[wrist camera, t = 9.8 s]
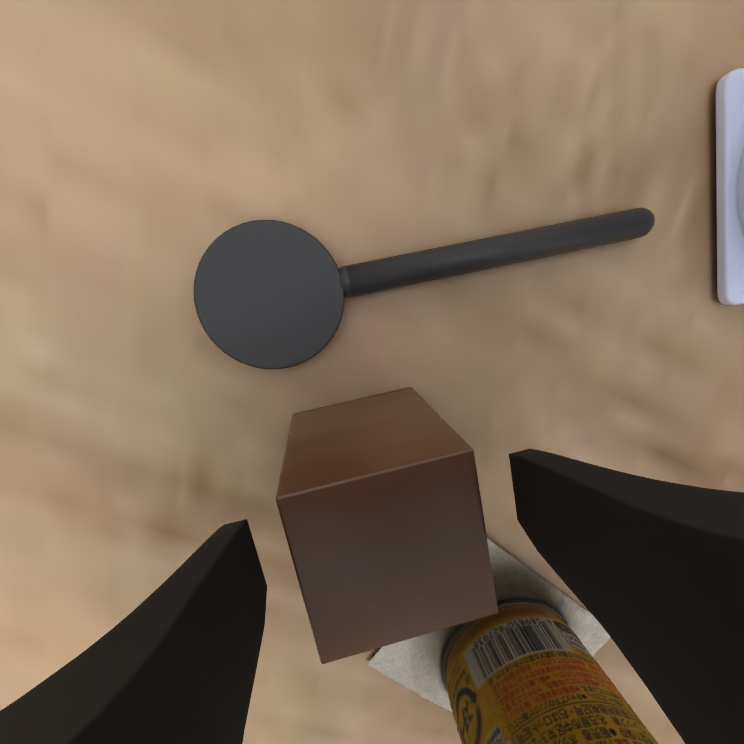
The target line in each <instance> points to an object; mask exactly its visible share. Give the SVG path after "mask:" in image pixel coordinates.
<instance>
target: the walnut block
mask: <svg viewBox="0 0 744 744" xmlns="http://www.w3.org/2000/svg"><path fill="white" fill-rule="evenodd" d="M276 502H277V506H278V509H279V513H280V517H281V520H282V524H283V527H284V531H285V535H286V538H287V542H288V545H289V549H290V553H291V556H292V560H293V563H294V567H295V571H296V574H297V578H298V581H299V585H300V589H301V592H302V596H303V599H304V603H305V607H306V610H307V614H308V617H309V621H310V625H311V628H312V632H313V635H314V639H315V643H316V646H317V650H318V653H319V657H320V661H321V663H322V664H325V663H329V662H332V661H335V660H339V659H342V658H346V657H349V656H353V655H356V654H360V653H363V652H367V651H370V650H373V649H377V648H380V647H384V646H387V645H391V644H394V643H398V642H401V641H404V640H408V639H411V638H415V637H418V636H422V635H425V634H429V633H432V632H436V631H439V630H442V629H446V628H449V627H453V626H456V625H460V624H463V623H467V622H470V621H474V620H477V619H480V618H484V617H487V616H491V615H494V614H497V613H498V607H497V601H496V594H495V588H494V581H493V575H492V568H491V562H490V555H489V549H488V542H487V536H486V529H485V523H484V516H483V510H482V503H481V497H480V490H479V484H478V477H477V471H476V464H475V458H474V451H473V449H472V448H471V447H470V446H469V445H468V444H467V443H466V442H465V441H464V440H463V439H462V438H461V437H460V436H459V435H458V434H457V433H456V432H455V431H454V430H453V429H452V428H451V427H450V426H449V425H448V424H447V423H446V422H445V421H444V420H443V419H442V418H441V417H440V416H439V415H438V414H437V413H436V412H435V411H434V410H433V409H432V408H431V407H430V406H429V405H428V404H427V403H426V402H425V401H424V400H423V399H422V398H421V397H420V396H419V395H418V394H417V393H416V392H415V391H414V390H413V389H412V388H411V387H410V388H405V389H401V390H397V391H392V392H388V393H383V394H379V395H375V396H370V397H366V398H362V399H357V400H353V401H349V402H344V403H340V404H336V405H331V406H327V407H323V408H318V409H314V410H310V411H305V412H301V413H297V414H293V416H292V421H291V426H290V431H289V436H288V441H287V446H286V451H285V455H284V460H283V465H282V470H281V475H280V480H279V485H278V490H277V495H276Z"/></svg>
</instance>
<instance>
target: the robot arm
mask: <svg viewBox="0 0 744 744" xmlns="http://www.w3.org/2000/svg"><path fill="white" fill-rule="evenodd" d="M716 189H717V295H718V300H719V301H720V302H721V303H722V304H724V305H741V304H744V68H739V69H736V70H733V71H731V72H729V73H728V74H726V75H724V76H723V77H722V78H721V79H720V80H719V82H718V84H717V87H716ZM509 458H510V466H511V474H512V481H513V489H514V496H515V504H516V512H517V519H518V521H519V523H520V524H521V526H522V528H523V529H524V531H525V532H526V534H527V535H528V537H529V539H530V540H531V541H532V543H533V544H534V546H535V547H536V549H537V550H538V552H539V553H540V554H541V555H542V557H543V558H544V559H545V560H546V561H547V562H548V564H549V565H550V566H551V567H552V568H553V570H554V571H555V572H556V573H557V574H558V575H559V577H560V578H561V579H562V580H563V581H564V582H565V584H566V585H567V586H568V587H569V588H570V589H571V591H572V592H573V593H574V594H575V595H576V596H577V598H578V599H579V600H580V601H581V602H582V603H583V604H584V606H585V607H586V608H587V609H588V610H589V611H590V613H591V614H592V615H593V616H594V617H595V618H596V620H597V621H598V622H599V623H600V624H601V626H602V627H603V628H604V629H605V631H606V632H607V633H608V634H609V636H610V637H611V638H612V639H613V641H614V642H615V643H616V645H617V646H618V647H619V649H620V650H621V652H622V653H623V654H624V656H625V657H626V659H627V660H628V661H629V663H630V664H631V666H632V667H633V668H634V670H635V671H636V672H637V674H638V675H639V677H640V678H641V679H642V681H643V682H644V684H645V685H646V687H647V688H648V689H649V691H650V692H651V694H652V695H653V697H654V698H655V700H656V701H657V703H658V704H659V705H660V707H661V708H662V710H663V711H664V713H665V714H666V716H667V717H668V719H669V720H670V722H671V723H672V724H673V726H674V727H675V729H676V730H677V732H678V733H679V735H680V736H681V738H682V739H683V741H684V742H685V744H744V493H742V492H732V491H723V490H715V489H707V488H700V487H694V486H688V485H682V484H676V483H670V482H664V481H659V480H654V479H649V478H645V477H640V476H636V475H632V474H627V473H623V472H619V471H615V470H611V469H607V468H603V467H599V466H596V465H592V464H588V463H585V462H581V461H578V460H574V459H570V458H567V457H563V456H560V455H556V454H552V453H548V452H544V451H540V450H534V449H527V450H523V451H519V452H515V453H511V454H509ZM266 593H267V585H266V581H265V578H264V575H263V571H262V568H261V565H260V561H259V558H258V555H257V551H256V548H255V544H254V541H253V538H252V534H251V531H250V528H249V524H248V521H247V519H246V520H242V521H238V522H233V523H229V524H225V525H223V526H222V527H220V528H219V529H218V530H217V531H216V532H215V533H214V534H213V535H212V536H210V537H209V538H208V539H207V540H206V541H205V542H204V543H203V544H202V545H201V546H200V547H199V548H198V549H197V550H196V551H195V552H194V553H193V554H192V555H191V556H190V557H189V558H188V559H187V560H186V561H185V562H184V563H183V564H182V565H181V566H180V567H179V568H178V569H177V570H176V571H175V572H174V573H173V574H172V575H171V576H170V577H169V578H168V579H167V580H166V581H165V582H164V583H163V584H162V585H161V586H160V587H159V588H158V589H156V590H155V591H154V592H153V593H152V594H151V595H150V596H149V597H148V598H147V599H146V600H145V601H144V602H142V603H141V604H140V605H139V606H138V607H137V608H136V609H135V610H134V611H133V612H132V613H130V614H129V615H128V616H127V617H126V618H125V619H124V620H122V621H121V622H120V623H119V624H118V625H116V626H115V627H114V628H113V629H112V630H110V631H109V632H108V633H107V634H105V635H104V636H103V637H102V638H100V639H99V640H98V641H97V642H95V643H94V644H93V645H92V646H90V647H89V648H88V649H87V650H85V651H84V652H83V653H81V654H80V655H79V656H78V657H76V658H75V659H73V660H72V661H71V662H69V663H68V664H67V665H65V666H64V667H62V668H61V669H60V670H58V671H57V672H55V673H54V674H53V675H51V676H50V677H48V678H47V679H46V680H44V681H43V682H41V683H40V684H39V685H37V686H36V687H35V688H33V689H32V690H30V691H29V692H28V693H26V694H25V695H23V696H22V697H20V698H19V699H18V700H16V701H15V702H13V703H12V704H10V705H9V706H7V707H6V708H4V709H2V710H1V711H0V744H242V742H243V736H244V729H245V724H246V719H247V714H248V708H249V703H250V698H251V693H252V688H253V683H254V678H255V673H256V668H257V662H258V657H259V652H260V647H261V641H262V636H263V630H264V624H265V611H266Z"/></svg>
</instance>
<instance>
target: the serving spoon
mask: <svg viewBox="0 0 744 744" xmlns="http://www.w3.org/2000/svg"><path fill="white" fill-rule="evenodd" d="M654 222H655V219H654V215H653V213H652V212H651V211H650V210H648V209H646V208H636V209H631V210H626V211H621V212H615V213H610V214H605V215H600V216H595V217H590V218H585V219H580V220H575V221H570V222H565V223H560V224H555V225H550V226H545V227H540V228H535V229H530V230H525V231H520V232H515V233H510V234H505V235H500V236H495V237H490V238H485V239H480V240H474V241H469V242H464V243H459V244H454V245H449V246H444V247H439V248H434V249H429V250H424V251H419V252H414V253H409V254H404V255H399V256H394V257H389V258H384V259H379V260H374V261H369V262H364V263H359V264H354V265H349V266H344V267H341V268H339V269H338V267H337V265H336V263H335V261H334V259H333V258H332V256H331V255H330V253H329V252H328V251H327V249H326V248H325V247H324V246H323V245H322V244H321V243H320V242H319V241H318V240H317V239H316V238H315V237H313V236H312V235H311V234H309V233H308V232H306V231H304V230H303V229H301V228H299V227H296V226H294V225H292V224H288V223H285V222H281V221H275V220H257V221H250V222H246V223H242V224H240V225H237V226H235V227H233V228H231V229H229V230H228V231H226V232H224V233H223V234H222V235H220V236H219V237H218V238H217V239H216V240H215V241H214V242H213V243H212V244H211V245H210V246H209V247H208V249H207V250H206V252H205V253H204V255H203V257H202V259H201V261H200V263H199V265H198V268H197V271H196V276H195V281H194V301H195V306H196V311H197V314H198V317H199V320H200V322H201V324H202V326H203V328H204V330H205V331H206V333H207V334H208V336H209V337H210V339H211V340H212V341H213V342H214V343H215V344H216V345H217V346H218V347H219V348H220V349H221V350H222V351H223V352H224V353H226V354H227V355H229V356H230V357H232V358H233V359H235V360H237V361H239V362H241V363H244V364H247V365H249V366H253V367H257V368H263V369H282V368H288V367H292V366H295V365H298V364H301V363H303V362H305V361H307V360H309V359H311V358H312V357H314V356H315V355H316V354H318V353H319V352H320V351H321V350H322V349H323V348H324V347H325V346H326V345H327V344H328V343H329V341H330V340H331V339H332V337H333V336H334V334H335V332H336V330H337V329H338V326H339V323H340V321H341V317H342V313H343V307H344V297H353V296H358V295H363V294H368V293H373V292H377V291H382V290H387V289H392V288H397V287H402V286H407V285H411V284H416V283H421V282H426V281H431V280H436V279H441V278H445V277H450V276H455V275H460V274H465V273H470V272H475V271H479V270H484V269H489V268H494V267H499V266H504V265H509V264H513V263H518V262H523V261H528V260H533V259H538V258H543V257H547V256H552V255H557V254H562V253H567V252H572V251H577V250H581V249H586V248H591V247H596V246H601V245H606V244H611V243H615V242H620V241H625V240H630V239H635V238H639V237H642V236H644V235H646V234H647V233H648V232H650V230H651V229H652V227H653V226H654Z"/></svg>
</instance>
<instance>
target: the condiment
mask: <svg viewBox="0 0 744 744" xmlns="http://www.w3.org/2000/svg"><path fill="white" fill-rule="evenodd" d="M487 542H488V549H489V555H490V562H491V568H492V575H493V581H494V588H495V594H496V601H497V607H498V613H497V614H494V615H491V616H487V617H484V618H480V619H477V620H474V621H470V622H467V623H463V624H460V625H456V626H453V627H449V628H446V629H442V630H439V631H436V632H432V633H429V634H425V635H422V636H418V637H415V638H411V639H408V640H404V641H401V642H398V643H394V644H391V645H387V646H384V647H382V648H381V649H380V650H379V651H378V652H377V653H376V655H375V656H374V657H373V658H372V659H371V660H370V661H369V662H368V664H367V665H369V666H370V667H372V668H374V669H376V670H377V671H378V672H380V673H381V674H383V675H385V676H387V677H389V678H392V679H393V680H395V681H396V682H398V683H399V684H400V685H401V686H403V687H405V688H408V689H410V690H412V691H414V692H415V693H417V694H418V695H419V696H421V697H422V698H426V699H427V700H429V701H430V702H432V703H435V704H436V705H439V706H441V707H443V708H445V709H447V710H449V711H450V712H452V713H453V716H454V718H455V721H456V724H457V729H458V732H459V735H460V738H461V741H462V744H658V742H657V741H656V740H655V739H654V737H653V736H652V735H651V734H650V732H649V731H648V729H647V728H646V727H645V726H644V724H643V723H642V722H641V720H640V719H639V718H638V716H637V715H636V714H635V712H634V711H633V710H632V708H631V707H630V705H629V704H628V703H627V702H626V700H625V699H624V697H623V696H622V695H621V694H620V692H619V691H618V690H617V688H616V687H615V686H614V684H613V683H612V682H611V681H610V679H609V678H608V676H607V675H606V674H605V673H604V671H603V670H602V668H601V667H600V666H599V664H598V663H597V662H596V660H595V659H594V658H593V656H594V655H595V653H596V652H597V651H598V650H599V649H600V648H601V647H602V646H603V645H604V644H605V643H606V642H607V641H608V640H609V638H610V636H609V634H608V633H607V632H606V631H605V629H604V628H603V627H602V626H601V624H600V623H599V622H598V621H597V620H596V618H595V617H594V616H593V615H592V614H591V613H589V612H588V611H587V610H585V609H583V608H582V607H581V606H580V605H578V604H577V603H576V602H575V601H573V600H572V599H571V598H569V597H568V596H566V595H565V594H563V593H562V592H561V591H560V590H558V589H557V588H555V587H554V586H552V585H551V584H550V583H548V582H547V581H545V580H544V579H542V578H541V577H539V576H538V575H537V574H536V573H535V572H533V571H532V570H531V569H529V568H528V567H526V566H525V565H524V564H522V563H521V562H520V561H519V560H517V559H516V558H514V557H513V556H512V555H510V554H509V553H507V552H506V551H504V550H503V549H501V548H500V547H499V546H497V545H496V544H495V543H493V542H492V541H491V540H489V539H488V538H487Z"/></svg>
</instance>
